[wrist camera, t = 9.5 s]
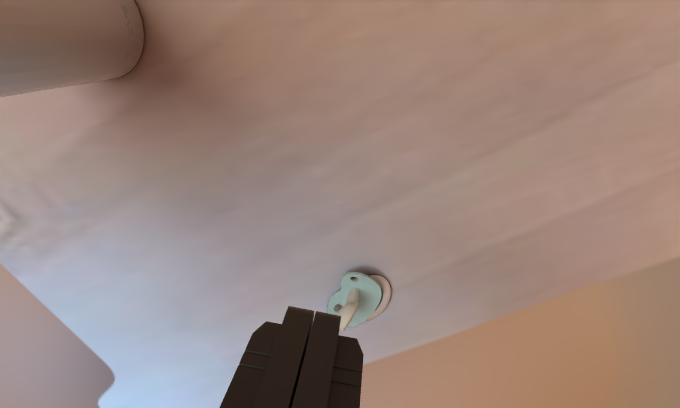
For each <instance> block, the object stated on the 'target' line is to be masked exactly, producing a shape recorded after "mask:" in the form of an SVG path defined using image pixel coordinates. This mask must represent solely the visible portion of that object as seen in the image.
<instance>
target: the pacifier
mask: <svg viewBox="0 0 680 408" xmlns="http://www.w3.org/2000/svg"><path fill="white" fill-rule="evenodd" d="M351 277H356V278H355V279H351ZM340 283H341V289H340V290H338V291H337V292H335V293H334V294H333V296H332V297H331V298H330V300H329V303H328V306H327V313H328V314H333V315H338V316H341V322H340V328H339V330H340V331H341V332H343V331H344V330H345V329H346V328H352V327H356V326H357V325H360V324H361V323H363V322H364V321H367V320H370V319H373V318H375V317H377V316H378V315H379V314H380V313H382V312H383V310H384V309H385V308H386V306H387V304H388V302H389V300H390V296H391V288H390V285H389V283H388V281H387V280H386V279H385V278H383V277H382V276H379V275H370V276H367V275H365V274H362V273H359V272H347V273H345V274H344V275H343V277H342V278H341V282H340ZM380 287H381V288H382V291H383V295H382V298H381V294H382V293H381V288H380ZM380 299H381V300H380ZM337 304H340V305H341V306H342V308H341V309H340V310H338V311H337V310H335V308H334V307H335V305H337Z"/></svg>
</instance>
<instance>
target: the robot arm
mask: <svg viewBox="0 0 680 408" xmlns="http://www.w3.org/2000/svg"><path fill="white" fill-rule="evenodd" d="M143 45H144V30H143V23H142V19H141V16H140V13H139V10H138V7H137V5H136V3H135V1H134V0H0V97H5V96H11V95H17V94H23V93H29V92H35V91H41V90H47V89H54V88H60V87H66V86H72V85H78V84H85V83H91V82H97V81H103V80H109V79H114V78H118V77H121V76H123V75H125V74H126V73H128V72H130V71H131V70H132V69H133V67H134V66H135V65H136V64H137V62H138V60H139V58H140V56H141V53H142V49H143ZM313 318H314V311H312V310H307V309H301V308H296V307H291V306H289V307H288V309H287V312H286V315H285V317H284V320H283V323H282V324H277V323H272V322H265V323H264V324H263V325H262V326H260V327H259V328H258V329H257V330H256V331H255V332H254V333H253V334H252V336H251V338H250V341H249V343H248V345H247V347H246V350H245V353H244V354H243V356H242V359H241V361H240V364H239V366H238V368H237V370H236V372H235V374H234V377H233V379H232V381H231V383H230V386H229V388H228V390H227V392H226V395H225V397H224V399H223V401H222V404H221V406H220V408H359V407H360V393H361V379H362V367H363V353H362V350H361V348H360V345H359V343H358V340H357V339H355V338H350V337H344V336H339V335H338V334H339V328H340V322H341V316H338V315H333V314H328V313H323V312H318V311H316V314H315V318H314V321H313Z"/></svg>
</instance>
